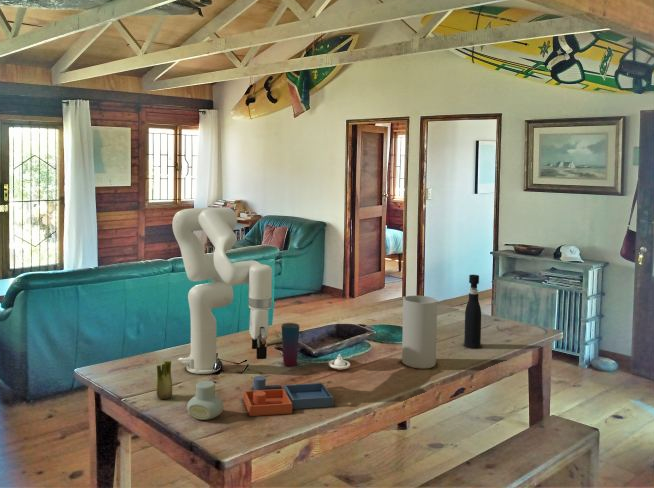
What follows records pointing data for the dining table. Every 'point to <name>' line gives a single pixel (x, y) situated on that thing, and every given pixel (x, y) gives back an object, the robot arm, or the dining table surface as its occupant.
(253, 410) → the terracotta bin
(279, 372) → the dining table surface
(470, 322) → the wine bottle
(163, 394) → the fennel bulb
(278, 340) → the jawbone
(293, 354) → the cup
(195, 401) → the air freshener
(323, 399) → the slate bin
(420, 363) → the cylinder vase
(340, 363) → the ring around a ball
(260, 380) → the blue handled cylinder
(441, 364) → the dining table surface
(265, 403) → the orange toy mallet
